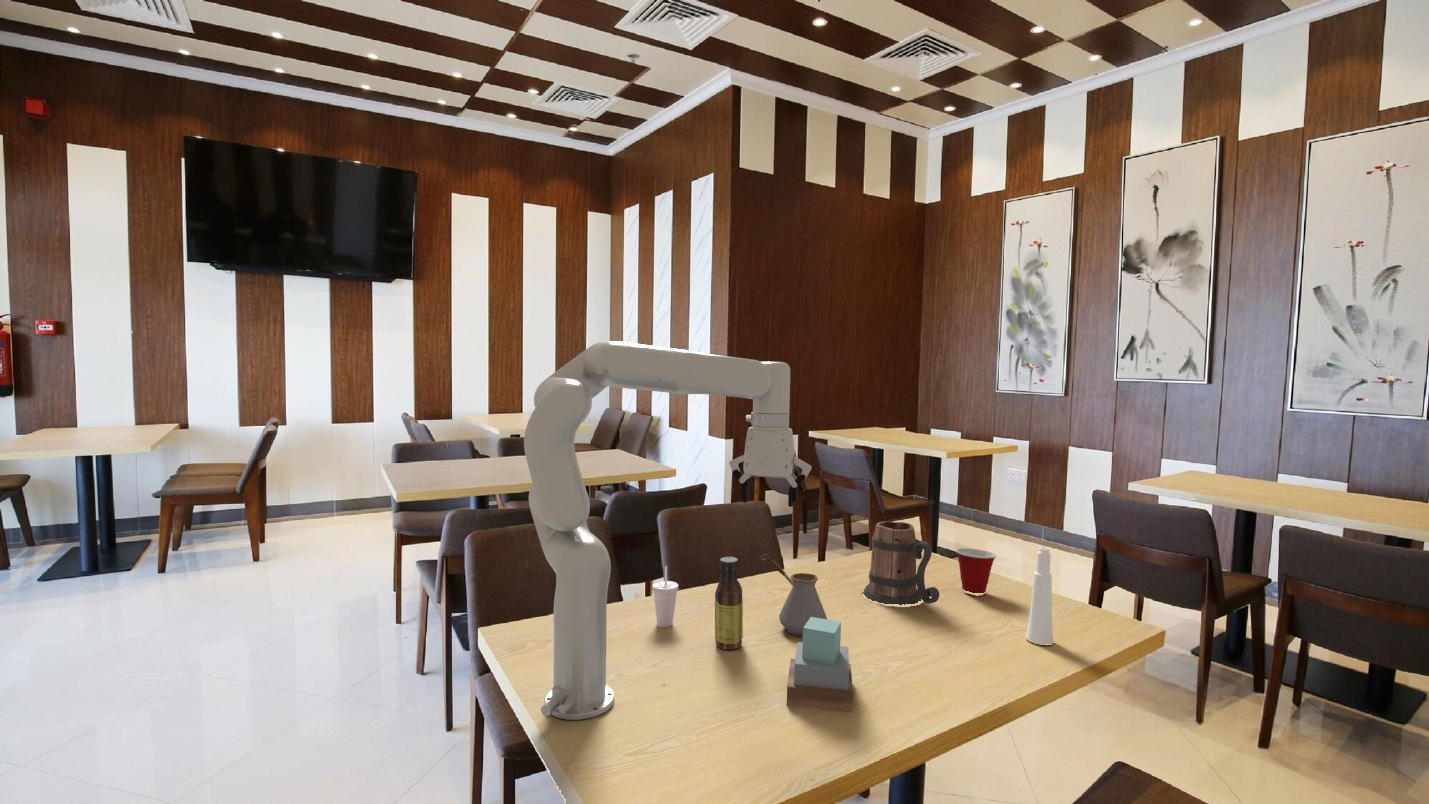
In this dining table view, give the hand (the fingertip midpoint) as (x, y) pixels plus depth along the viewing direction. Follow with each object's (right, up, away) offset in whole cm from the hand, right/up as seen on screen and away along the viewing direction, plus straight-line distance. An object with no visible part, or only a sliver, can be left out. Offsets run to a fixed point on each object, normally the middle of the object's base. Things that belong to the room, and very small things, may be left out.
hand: (768, 503), depth 139 cm
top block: (+9, -32, -10) cm, 34 cm away
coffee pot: (+7, -33, +25) cm, 42 cm away
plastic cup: (+62, -33, +49) cm, 86 cm away
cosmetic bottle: (+65, -35, +17) cm, 75 cm away
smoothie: (-23, -33, +22) cm, 46 cm away
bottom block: (+9, -36, -10) cm, 38 cm away
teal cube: (+9, -28, -10) cm, 31 cm away
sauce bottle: (-8, -34, +11) cm, 36 cm away
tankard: (+39, -33, +42) cm, 67 cm away
